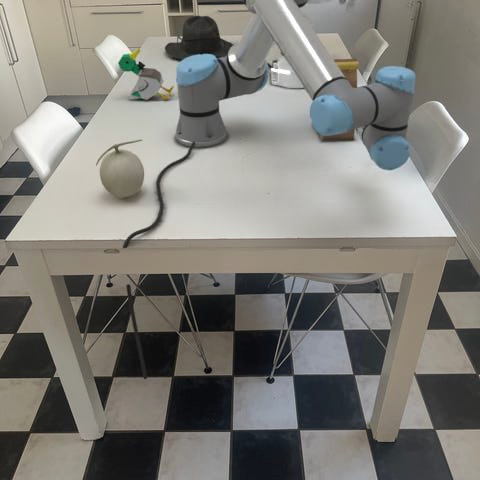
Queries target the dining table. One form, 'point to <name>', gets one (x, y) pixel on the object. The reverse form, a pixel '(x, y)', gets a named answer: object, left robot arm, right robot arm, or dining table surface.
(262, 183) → the dining table surface
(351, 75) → the lid
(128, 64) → the toy
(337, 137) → the chest
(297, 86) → the right robot arm
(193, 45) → the hat
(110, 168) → the fruit
